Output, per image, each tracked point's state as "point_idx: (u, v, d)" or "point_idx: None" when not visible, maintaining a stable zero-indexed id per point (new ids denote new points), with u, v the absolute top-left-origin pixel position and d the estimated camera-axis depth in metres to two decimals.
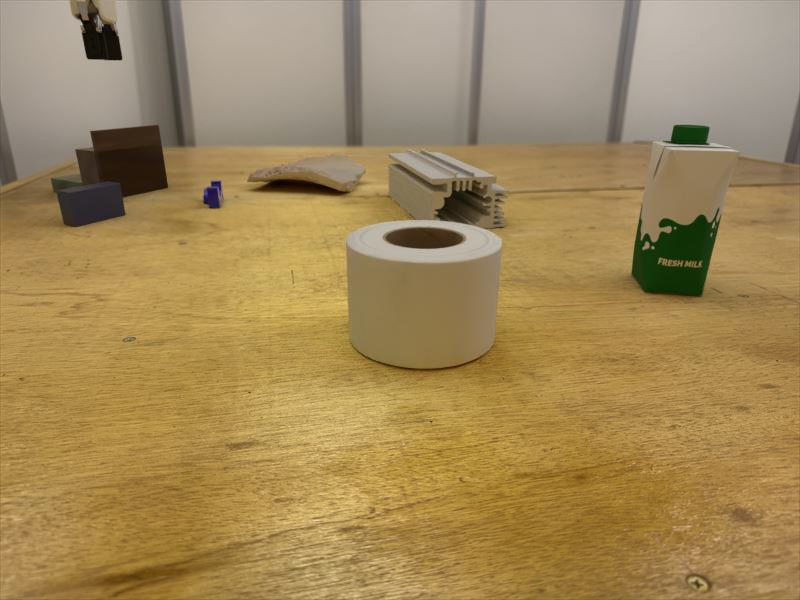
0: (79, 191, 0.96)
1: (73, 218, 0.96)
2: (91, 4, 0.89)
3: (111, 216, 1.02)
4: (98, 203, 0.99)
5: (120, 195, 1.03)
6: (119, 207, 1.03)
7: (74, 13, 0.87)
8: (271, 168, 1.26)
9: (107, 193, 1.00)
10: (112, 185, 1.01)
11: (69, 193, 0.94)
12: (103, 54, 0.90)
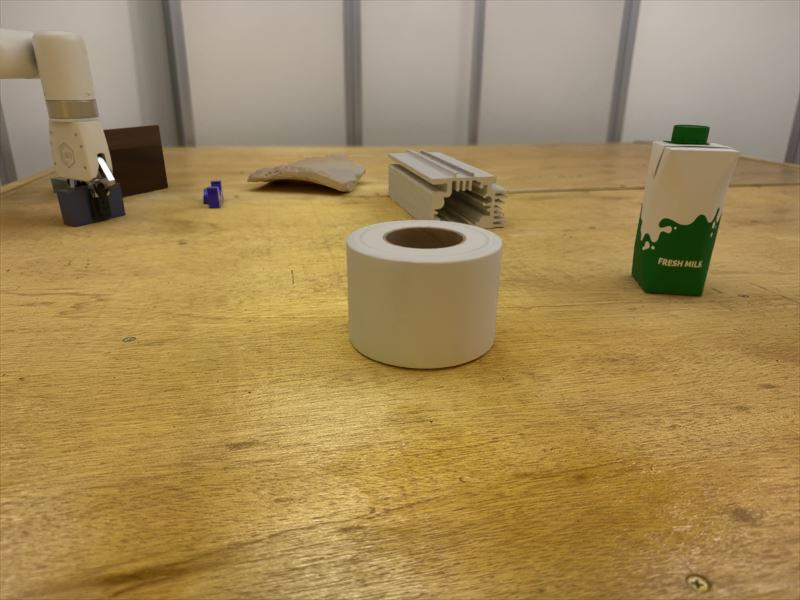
0: (79, 191, 0.96)
1: (73, 218, 0.96)
2: None
3: (111, 216, 1.02)
4: None
5: (120, 195, 1.03)
6: (119, 207, 1.03)
7: (92, 177, 0.94)
8: (271, 168, 1.26)
9: None
10: (112, 185, 1.01)
11: (69, 193, 0.94)
12: (108, 213, 1.00)
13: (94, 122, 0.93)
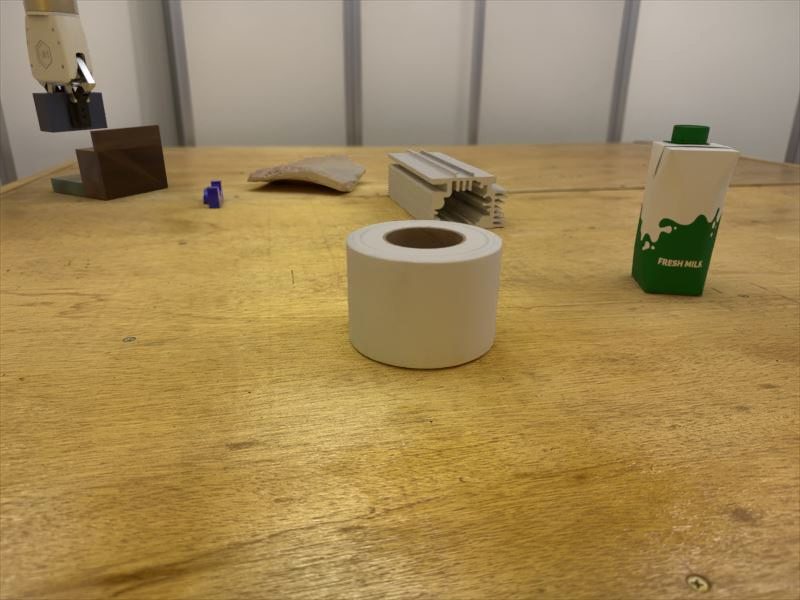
0: (57, 94, 0.90)
1: (50, 123, 0.90)
2: None
3: (92, 127, 0.96)
4: None
5: (102, 106, 0.97)
6: (100, 119, 0.97)
7: (70, 78, 0.88)
8: (271, 168, 1.26)
9: None
10: (93, 93, 0.95)
11: (46, 95, 0.88)
12: (88, 122, 0.95)
13: (73, 18, 0.87)
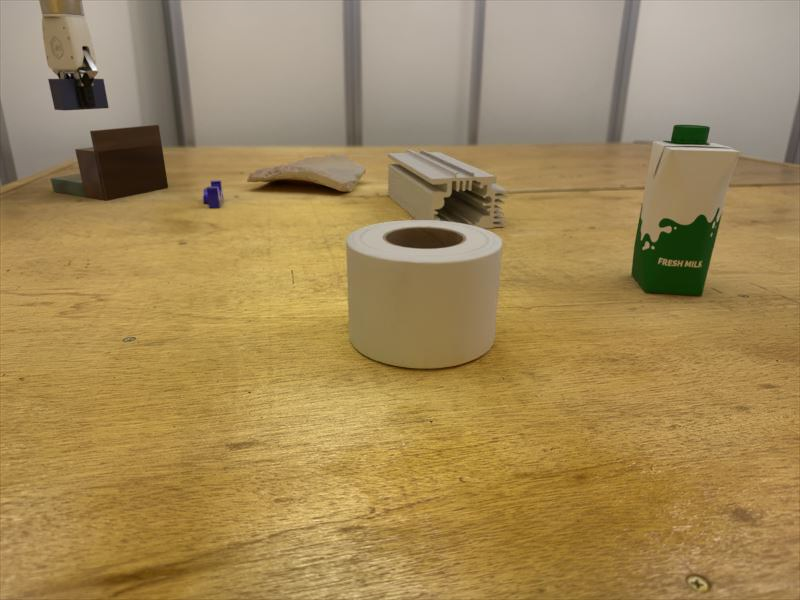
0: (67, 79, 1.12)
1: (62, 102, 1.13)
2: None
3: (96, 107, 1.19)
4: None
5: (104, 90, 1.19)
6: (103, 100, 1.20)
7: (78, 66, 1.11)
8: (271, 168, 1.26)
9: None
10: (96, 79, 1.18)
11: (59, 80, 1.11)
12: (92, 103, 1.17)
13: (80, 18, 1.10)
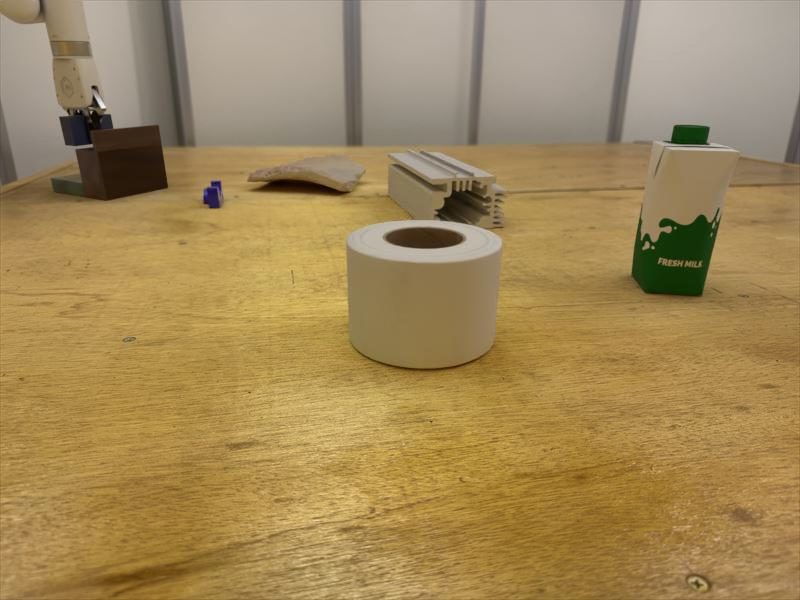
0: (77, 117, 1.18)
1: (73, 139, 1.18)
2: None
3: None
4: None
5: (111, 124, 1.25)
6: None
7: (87, 105, 1.16)
8: (271, 168, 1.26)
9: None
10: (104, 115, 1.23)
11: (69, 118, 1.17)
12: None
13: (89, 60, 1.15)
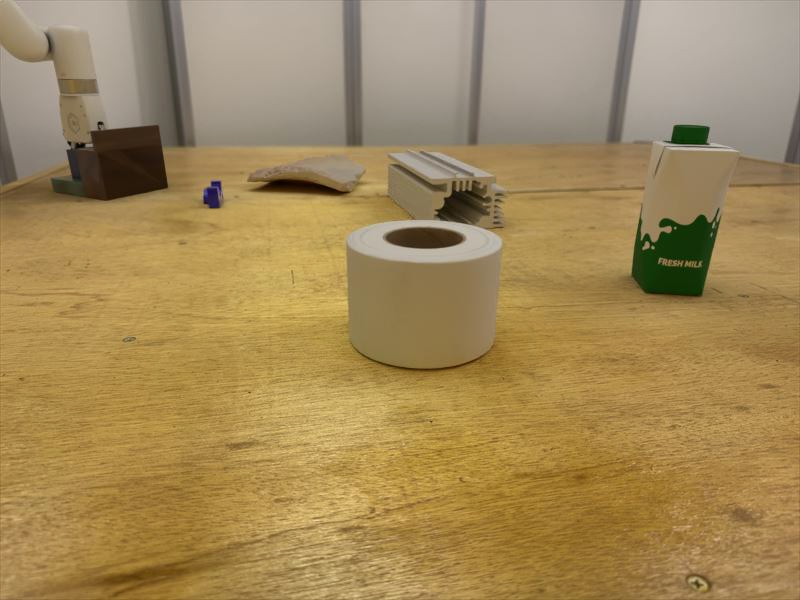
0: None
1: (79, 171, 1.21)
2: None
3: None
4: None
5: None
6: None
7: None
8: (271, 168, 1.26)
9: None
10: None
11: None
12: None
13: (95, 97, 1.18)
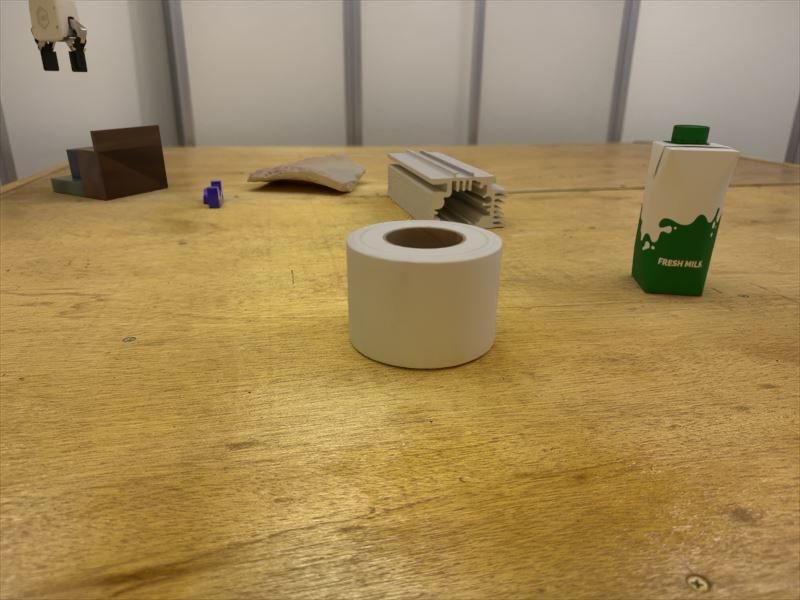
0: None
1: (79, 171, 1.21)
2: (68, 29, 1.14)
3: None
4: None
5: None
6: None
7: (63, 36, 1.12)
8: (271, 168, 1.26)
9: None
10: None
11: None
12: (84, 68, 1.17)
13: None
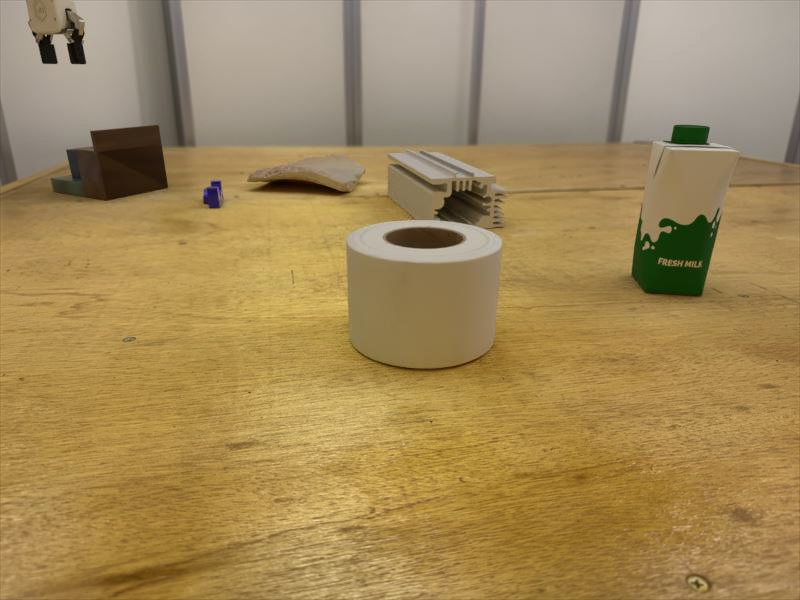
0: None
1: (79, 171, 1.21)
2: (66, 21, 1.14)
3: None
4: None
5: None
6: None
7: (61, 28, 1.12)
8: (271, 168, 1.26)
9: None
10: None
11: None
12: (83, 60, 1.17)
13: None
